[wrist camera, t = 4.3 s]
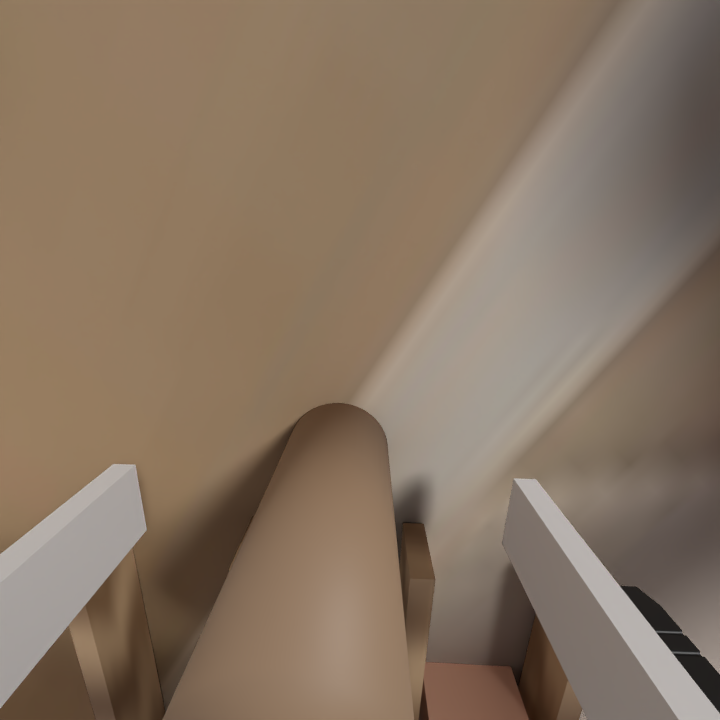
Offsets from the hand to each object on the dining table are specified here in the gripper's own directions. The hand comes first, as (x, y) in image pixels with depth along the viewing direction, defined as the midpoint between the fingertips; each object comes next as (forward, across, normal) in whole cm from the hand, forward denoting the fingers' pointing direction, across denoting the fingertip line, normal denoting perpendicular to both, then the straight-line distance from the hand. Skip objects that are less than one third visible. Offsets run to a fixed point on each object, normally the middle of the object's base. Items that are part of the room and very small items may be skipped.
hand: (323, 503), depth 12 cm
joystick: (+4, 0, -8) cm, 9 cm away
